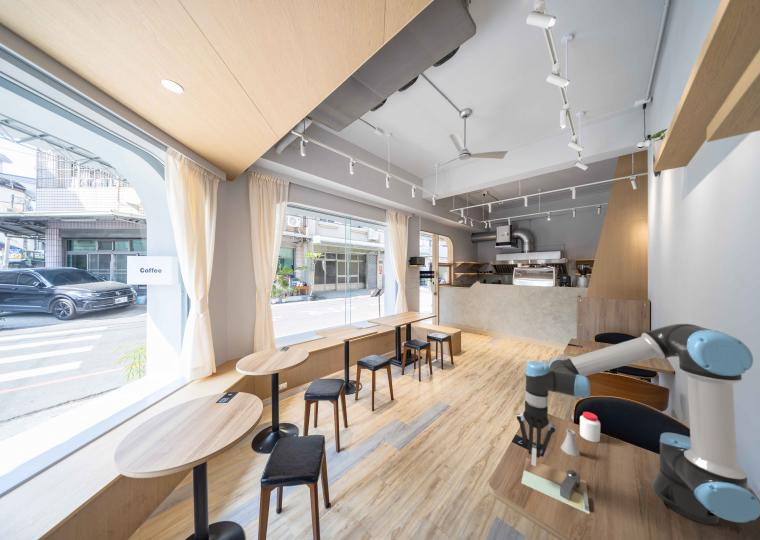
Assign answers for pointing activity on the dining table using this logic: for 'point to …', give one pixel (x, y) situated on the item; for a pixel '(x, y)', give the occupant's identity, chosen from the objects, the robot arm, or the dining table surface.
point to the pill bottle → (590, 427)
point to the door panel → (555, 491)
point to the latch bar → (570, 484)
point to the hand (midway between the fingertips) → (533, 463)
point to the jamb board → (552, 474)
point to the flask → (570, 444)
